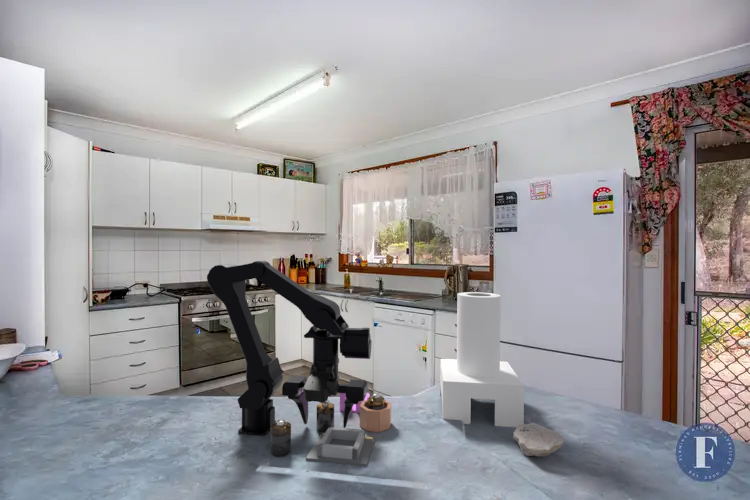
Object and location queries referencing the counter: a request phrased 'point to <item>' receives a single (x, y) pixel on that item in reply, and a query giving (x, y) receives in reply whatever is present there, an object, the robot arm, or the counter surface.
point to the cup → (375, 417)
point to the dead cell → (375, 402)
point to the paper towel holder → (480, 365)
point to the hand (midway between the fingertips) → (325, 425)
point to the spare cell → (280, 438)
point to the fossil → (537, 439)
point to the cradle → (342, 447)
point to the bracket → (355, 407)
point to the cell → (325, 416)
